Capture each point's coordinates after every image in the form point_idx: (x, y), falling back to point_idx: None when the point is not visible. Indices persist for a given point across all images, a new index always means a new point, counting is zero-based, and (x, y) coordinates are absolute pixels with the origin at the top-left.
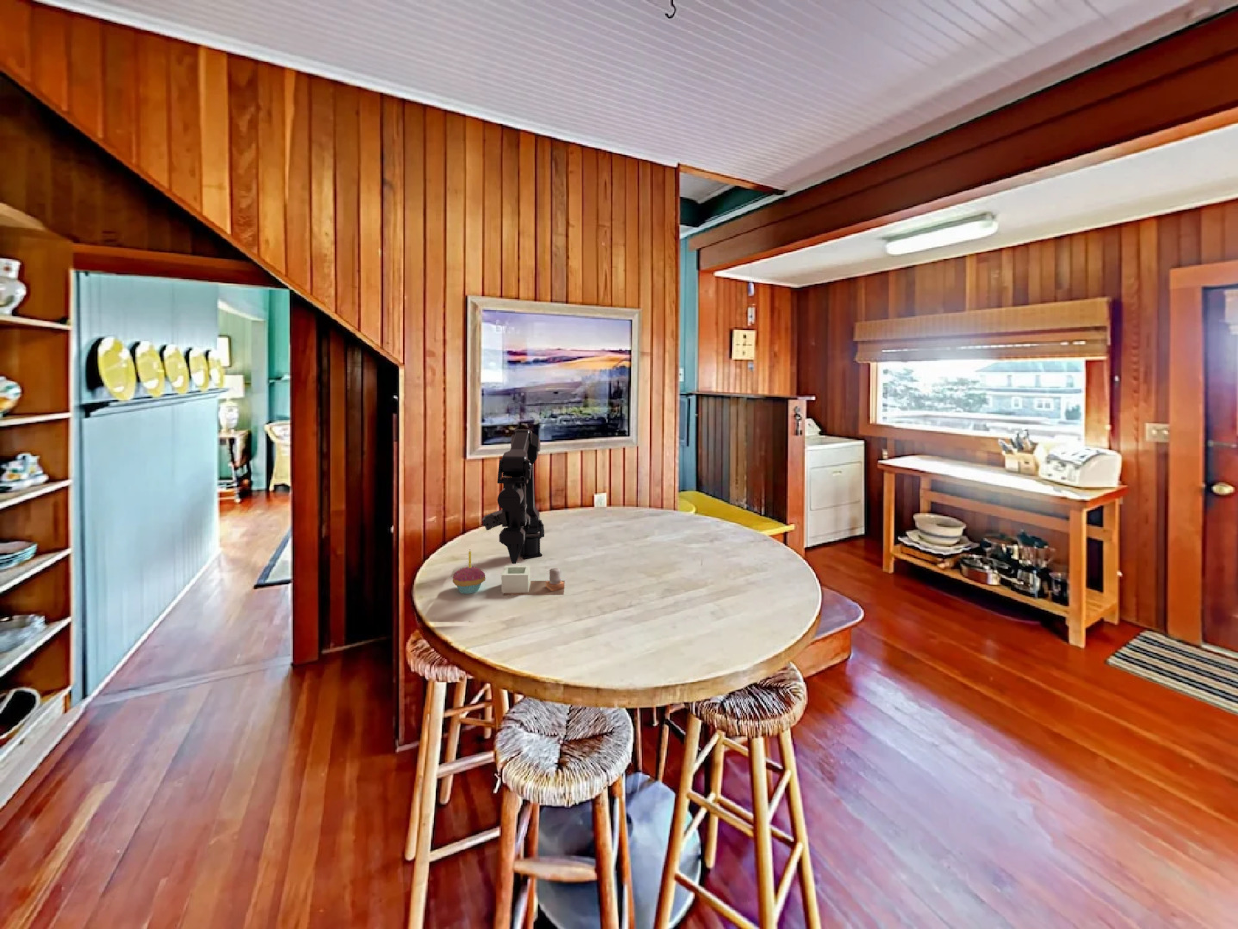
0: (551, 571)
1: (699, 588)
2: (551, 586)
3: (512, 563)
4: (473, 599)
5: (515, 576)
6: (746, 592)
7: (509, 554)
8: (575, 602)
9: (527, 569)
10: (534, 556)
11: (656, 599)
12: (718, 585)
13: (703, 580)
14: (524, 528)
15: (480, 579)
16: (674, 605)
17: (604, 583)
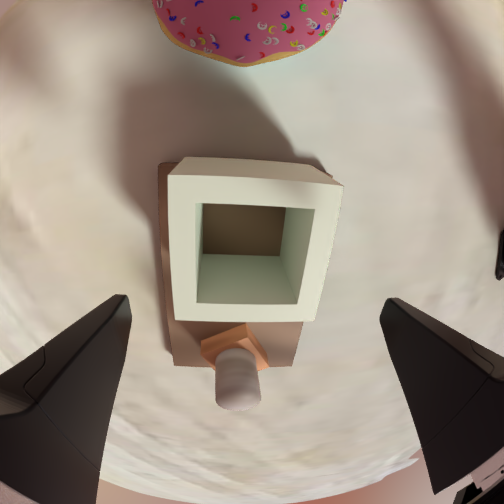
0: (222, 392)
1: (231, 479)
2: (204, 350)
3: (114, 299)
4: (168, 39)
5: (172, 256)
6: (216, 492)
7: (52, 340)
8: (150, 376)
9: (259, 314)
10: (499, 261)
11: (185, 457)
12: (240, 486)
13: (261, 481)
14: (450, 479)
15: (179, 43)
16: (164, 463)
17: (274, 418)
